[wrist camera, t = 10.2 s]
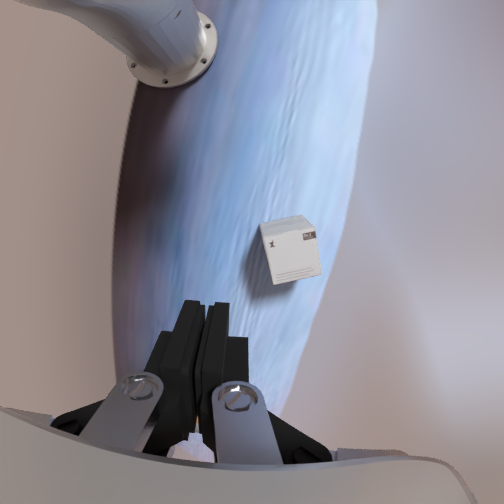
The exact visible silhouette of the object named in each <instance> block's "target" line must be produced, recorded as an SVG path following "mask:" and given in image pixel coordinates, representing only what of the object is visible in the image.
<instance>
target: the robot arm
mask: <svg viewBox="0 0 504 504" xmlns="http://www.w3.org/2000/svg"><path fill="white" fill-rule="evenodd" d="M15 1H18V2H20V3H23V4H26V5H29V6H33V7H36V8H41V9H45V10H50V11H54V12H58V13H61V14H64V15H67V16H70V17H71V18H73V19H75V20H77V21H79V22H80V23H82V24H84V25H85V26H87V27H88V28H90V29H91V30H92V31H94V32H95V33H97V34H98V35H99V36H101V37H102V38H103V39H105V40H106V41H107V42H109V43H110V44H112V45H113V46H114V47H116V48H117V49H118V50H120V51H121V52H122V53H124V54H125V55H126V59H127V64H128V67H129V69H130V71H131V72H132V74H133V75H134V76H135V77H136V78H137V79H138V80H139V81H141V82H143V83H144V84H146V85H149V86H151V87H156V88H172V87H178V86H181V85H184V84H187V83H188V82H190V81H192V80H194V79H196V78H197V77H198V76H200V75H201V74H202V73H203V72H204V71H205V70H206V69H207V68H208V67H209V66H210V64H211V63H212V61H213V60H214V57H215V55H216V53H217V49H218V35H217V31H216V28H215V26H214V24H213V23H212V21H211V20H210V19H209V18H208V17H207V16H205V15H204V14H202V13H200V12H199V11H197V10H196V8H195V5H194V2H193V0H15ZM207 28H209V29H207ZM203 62H206V63H205V64H203ZM135 66H137V67H135ZM166 81H168V83H167V84H165V83H166ZM228 330H229V303H222V302H215V304H214V306H211V305H209V308H208V312H207V317H206V321H205V305H200V301H194V300H185V301H184V304H183V306H182V309H181V311H180V314H179V316H178V319H177V322H176V324H175V327H174V329H173V332H170V331H161V333H160V335H159V337H158V339H157V342H156V344H155V346H154V349H153V351H152V353H151V356H150V358H149V360H148V363H147V365H146V367H145V370H144V372H143V371H139V372H132V373H128V374H127V375H125V376H123V377H122V378H121V379H120V380H119V381H118V382H117V383H116V385H115V386H114V388H113V389H112V390H111V392H110V393H109V394H108V396H107V397H106V399H104V400H101V401H98V402H96V403H93V404H90V405H88V406H85V407H82V408H80V409H77V410H74V411H71V412H68V413H65V414H62V415H60V416H58V417H57V418H56V419H54V418H53V416H52V415H46V414H40V413H34V412H28V411H23V410H17V409H12V408H4V407H1V406H0V504H478V502H477V500H476V498H475V496H474V494H473V493H472V491H471V489H470V488H469V487H468V485H467V483H466V482H465V480H464V479H463V477H462V476H461V475H460V473H459V472H458V471H457V470H456V469H455V468H454V467H453V466H451V465H450V464H448V463H447V462H444V461H442V460H438V459H435V458H430V457H422V456H409V455H408V454H407V453H405V452H403V451H400V450H371V449H346V448H338V449H337V451H330V450H328V449H327V448H326V447H325V446H323V445H322V444H320V443H319V442H317V441H315V440H313V439H312V438H310V437H308V436H307V435H305V434H304V433H302V432H300V431H299V430H297V429H295V428H294V427H292V426H291V425H289V424H288V423H286V422H284V421H283V420H281V419H280V418H278V417H277V416H275V415H274V414H272V413H271V412H269V411H268V410H267V408H266V404H265V401H264V397H263V395H262V393H261V391H260V390H259V389H258V388H257V387H256V386H254V385H252V384H250V383H249V367H248V337H230V336H228ZM197 416H198V426H199V433H200V434H202V438H203V443H204V444H205V445H206V446H207V447H208V448H210V449H211V450H212V451H213V452H214V462H215V463H210V462H199V461H190V460H182V459H175V458H172V456H173V453H174V450H175V444H177V443H179V442H181V441H183V440H186V441H188V437H189V432H190V433H195V429H196V422H197Z"/></svg>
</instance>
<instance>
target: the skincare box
mask: <svg viewBox="0 0 504 504" xmlns="http://www.w3.org/2000/svg"><path fill="white" fill-rule="evenodd" d="M259 228H260V232H261V236H262V241H263V245H264V250H265V254H266V258H267V262H268V266H269V270H270V275H271V279H272V283H273V285H276V284H281V283H286V282H291V281H295V280H299V279H304V278H308V277H313V276H317V275H321V274H322V272H321V265H320V259H319V252H318V245H317V239H316V232H315V227H314V226H313V225H312V224H311V223H310V222H309V221H308V220H307V219H306V218H305V217H304V216H303V215H296V216H291V217H286V218H282V219H277V220H273V221H269V222H265V223H261V224H259Z"/></svg>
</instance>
